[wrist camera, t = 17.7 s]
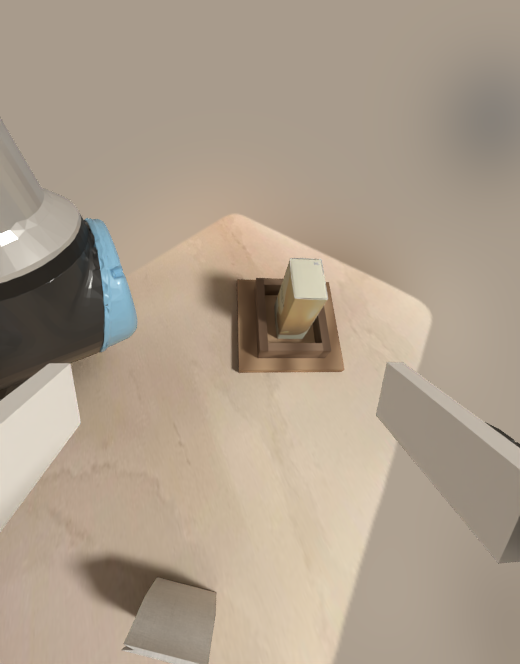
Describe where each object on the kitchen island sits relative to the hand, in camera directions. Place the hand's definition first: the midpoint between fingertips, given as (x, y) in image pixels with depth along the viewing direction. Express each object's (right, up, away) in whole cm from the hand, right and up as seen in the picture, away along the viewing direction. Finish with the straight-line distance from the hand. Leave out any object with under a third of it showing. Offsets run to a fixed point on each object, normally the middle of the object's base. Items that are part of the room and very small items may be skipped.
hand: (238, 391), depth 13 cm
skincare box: (+5, +4, +35) cm, 35 cm away
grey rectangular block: (-8, -27, +19) cm, 34 cm away
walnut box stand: (+5, +4, +36) cm, 36 cm away
